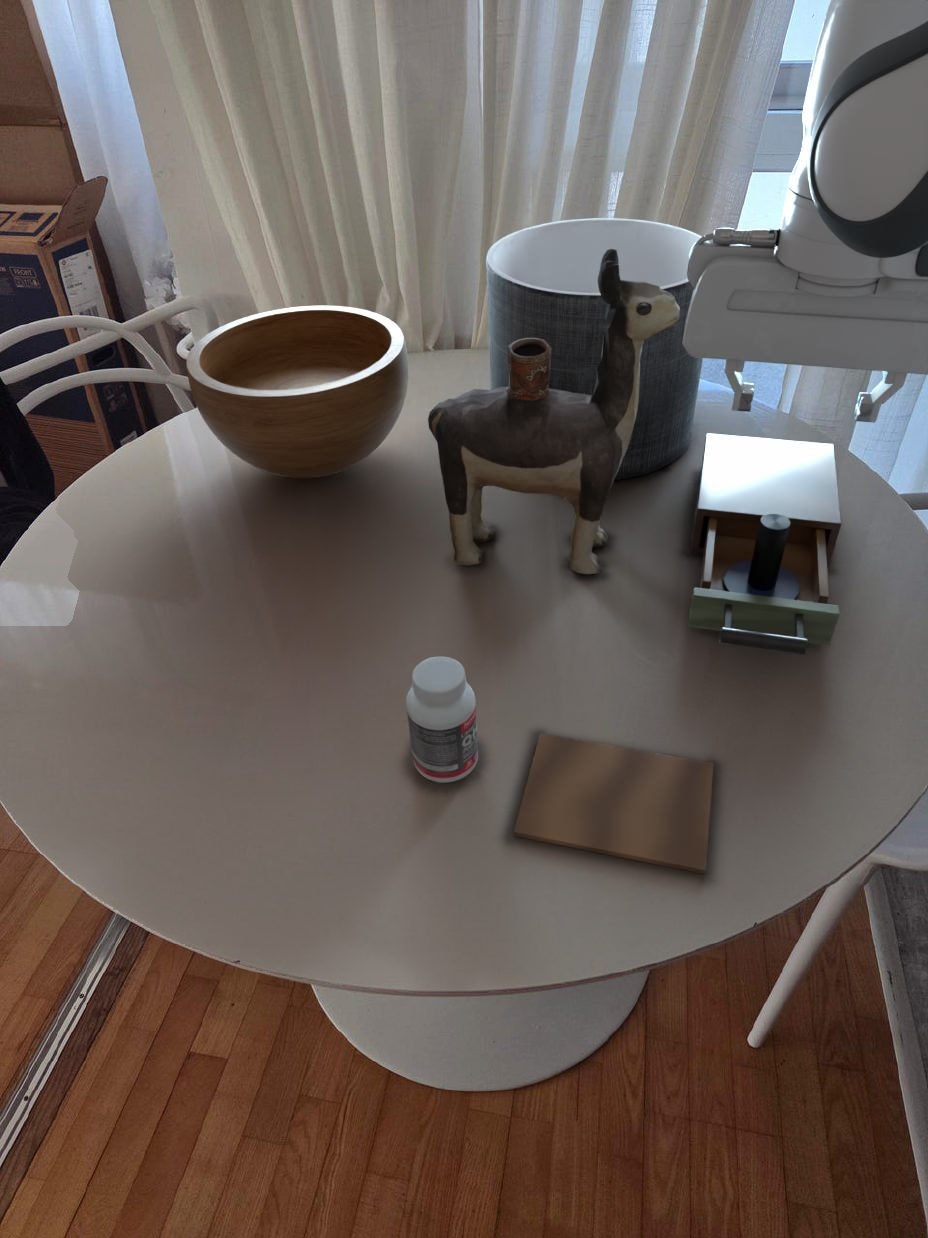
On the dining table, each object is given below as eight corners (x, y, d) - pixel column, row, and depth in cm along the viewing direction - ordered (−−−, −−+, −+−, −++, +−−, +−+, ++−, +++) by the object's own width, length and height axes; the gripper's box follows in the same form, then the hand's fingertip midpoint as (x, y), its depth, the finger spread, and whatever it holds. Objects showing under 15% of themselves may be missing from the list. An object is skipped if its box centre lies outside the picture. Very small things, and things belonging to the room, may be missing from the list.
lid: (798, 569, 83) (815, 504, 79) (799, 614, 78) (818, 548, 73) (724, 560, 85) (736, 496, 80) (720, 604, 80) (733, 539, 75)
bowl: (450, 481, 102) (442, 361, 92) (246, 543, 95) (213, 419, 85) (373, 398, 120) (359, 290, 110) (195, 445, 112) (164, 333, 102)
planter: (526, 376, 122) (527, 211, 108) (707, 399, 115) (733, 225, 100) (462, 465, 105) (451, 283, 90) (670, 499, 97) (695, 305, 83)
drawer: (831, 682, 73) (842, 650, 71) (683, 661, 76) (689, 629, 74) (823, 551, 87) (832, 520, 85) (698, 537, 90) (703, 506, 87)
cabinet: (828, 569, 86) (841, 523, 83) (690, 553, 89) (697, 508, 86) (822, 487, 98) (834, 443, 94) (699, 475, 101) (706, 432, 97)
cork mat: (712, 767, 68) (713, 762, 68) (705, 874, 61) (706, 870, 61) (539, 737, 71) (540, 733, 71) (513, 836, 64) (513, 832, 64)
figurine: (653, 583, 86) (690, 280, 66) (428, 572, 89) (401, 279, 69) (651, 525, 94) (684, 238, 74) (444, 516, 97) (423, 238, 77)
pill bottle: (480, 783, 68) (475, 697, 62) (413, 787, 68) (401, 702, 62) (477, 731, 72) (472, 646, 66) (413, 736, 72) (402, 651, 66)
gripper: (690, 240, 60) (666, 420, 69) (1014, 255, 55) (943, 445, 64) (695, 213, 64) (673, 384, 73) (995, 225, 60) (931, 406, 69)
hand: (801, 413), depth 69 cm, fingers open, 8 cm apart
